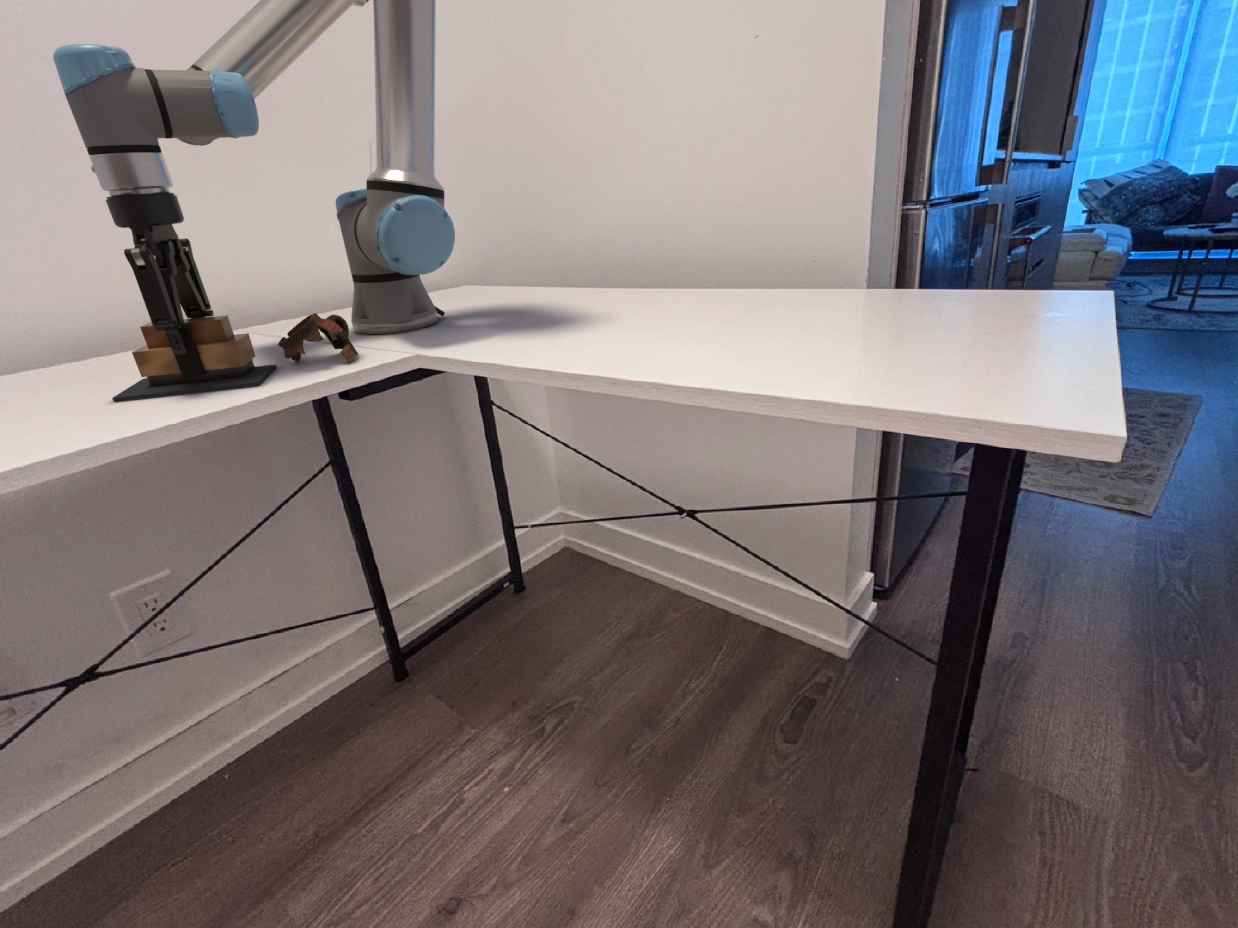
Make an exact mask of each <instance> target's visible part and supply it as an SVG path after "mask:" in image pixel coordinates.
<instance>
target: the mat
mask: <svg viewBox="0 0 1238 928" xmlns="http://www.w3.org/2000/svg"><path fill="white" fill-rule="evenodd" d="M277 369H278V366H277V364H267V365H257V366H254V368H253V369H252V370H251V371H250V372H249V373H247V374H246V375H245V376H244V377H237V378H227V379H218V380H208V381H199V382H190V383H180V384H171V385H161V386H152V387H151V386H150V383H149V381H148V378H147V377H142V379H140V380H139V381H137V382H135V383H133V384H132V385H131V386H129V387H128V388H126V389H124V390H123V391H121V392H119V393H118V394H116V395H114V396H113V397H112V398H111V399H112V401H113V402H114V403H118V402H126V401H136V400H147V399H153V398H154V399H155V398H163V397H172V396H181V395H191V394H198V393H200V394H201V393H207V392H217V391H225V390H226V391H227V390H236V389H244V388H245V389H246V388H254V387H260V386H261V385H262V384H263V383H264V382H265V381H266V380H267V379H268V378H269V377H270V376H271V375H272V374H273V373H274V372H275V371H276V370H277Z"/></svg>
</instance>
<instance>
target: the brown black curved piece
mask: <svg viewBox="0 0 1238 928" xmlns="http://www.w3.org/2000/svg"><path fill="white" fill-rule="evenodd" d="M321 333H322V334H323V335H324V336H325V337H326V339H327V340H328V341H329V342H330V344H331V345H332V347H333V349H334V350H340V352H339V353H340V354H341V355H342V356H343V357H344V358H345V361H346V362H347V364H352V363H353V362H354V361H355V360H356V358H357V357H358V355H359V353H358V351H357V350H356V348H355V346H354V345H353V343H352V342H351V340H350V338H349V336H350V328H349V324H348V322H347V321H346V320H345V319H344V317H342V316H340V315H339V314H330V315H328V316H327V317H325V318H322V317H320V315H318V313H317V312H314V313H311V314H309V315H307V316H306V317H305V318H303V319H302V320H301V321H300V322H298V323H297V324H296V325H295V326H293V327H292V328H291V329H290V330H288V332H287V334H286V335H287V336H288V337H285V336H283V337H282V338H280V340H279V341H278V343H277V346H278V347H280V348H281V349H283V356H284V358H285V359H287V360H289V359H291V361H294V362H295V363H297V364H298V363H300V361H301V359H302V355H305V354H306V352H305V347H304V341H305V342H309V343H312V342H322V341H324V340H325V338H324V337H323V335H322V334H321Z"/></svg>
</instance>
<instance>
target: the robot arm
mask: <svg viewBox="0 0 1238 928" xmlns="http://www.w3.org/2000/svg"><path fill="white" fill-rule="evenodd" d="M369 1H370V0H259V1H258V2H257V3H256V4H255V5H253V7H252V8H250V10H248V12H246V13H245V14H244V15H243V16H242V17H241V18H240V19H239V20H237V22H236V23H235V24H234V25H232V26H231V28H229V29H228V30H227V31H226V32H225V33H224V34H223V35H222V36H221V37H219V39H218V40H217V41H216V42H215V43H214V44H212V45H211V46H210V48H208V49H207V50H206V51H205V52H204V53H203V54H202V55H200V56H199V58H198V59H197V60H195V61H194V63H192V64H191V66H189V67H188V68H187V69H186V70H185V69H150V68H144V67H136V65H135V63H134V62H133V61H132V59H131V56H130V54H129V53H128V51H126V50H125V49H123V48H121V47H118V46H113V45H101V44H94V43H71V44H64V45H61V46H58V47H57V48H56V49H55V50H54V53H53V54H52V58H53V59H52V60H53V62H54V65H55V69H56V71H57V74H58V75H57V76H58V77H59V81H60V84H61V86H62V89H63V92H64V93H63V94H64V96H65V98H66V101H67V104H68V106H69V108H70V111H71V114H72V116H73V119H74V122H75V123H76V126H77V130H78V131H79V134H80V136H81V139H82V141H83V144H84V146H85V149H86V151H87V154H88V156H89V160H90V161H91V164H92V165H91V166H90V170H91V172H93V174H95V175H96V177H97V180H98V182H99V185H100V188H101V190H103V191H104V192H108V193H109V196H106V199H105V202H106V205H107V208H108V210H109V213H110V215H111V218H112V221H113V223H114V225H115V226H116V227H117V228H120V229H127V228H128V229H130V231H131V236H132V242H133V245H134V247H133V248H132V247H131V248H124V250H123V255H124V256H125V258H126V260H127V262H128V264H129V265H130V267H131V269H132V273H133V274H134V278H135V280H136V283H137V285H138V288H139V291H140V294H141V296H142V300H143V303H144V305H145V308H146V311H147V314H148V316H149V319H150V322H152V325H153V327H154V328H155V330H156V331H166V334H167V337H168V339H169V342H170V345H171V347H172V350H173V353H174V355H175V358H176V361H177V363H178V366H179V369H180V371H181V374H182V377H192V376H201V375H205V374H206V372H205V369H204V366H203V364H202V361H201V358H200V355H199V352H198V349H197V347H196V344H195V341H194V338H193V335H192V332H191V330H190V327H187V328H185V323H184V319H185V318H184V315H183V313H184V314H185V316H186V319H193V318H204V317H214V310H213V309H212V306H211V303H210V300H209V297H208V294H207V292H206V289H205V288H206V287H205V286H204V283H203V280H202V277H201V275H200V271H199V269H198V266H197V263H196V260H195V257H194V255H193V249H192V244H191V241H190V240H189V238H179V236H178V234H177V232H176V230H175V228H174V226H173V225H177V224H181V223H183V222H184V221H185V217H184V214H183V210H182V208H181V205H180V202H179V199H178V196H177V195H176V194H175V193H174V192H171V191H170V188H173V186H174V182H173V179H172V176H171V174H170V171H169V168H168V165H167V162H166V159H165V157H164V154H163V152H162V148H161V146H160V144H159V139H169V140H170V139H176V140H178V141H180V142H182V143H184V144H187V145H190V146H200V147H203V146H207V145H210V144H212V143H213V142H214V141H215V140H218V139H222V138H223V139H224V138H226V139H227V138H228V139H229V138H230V139H239V138H247V137H254V136H256V135H258V132H259V128H260V121H259V119H260V118H259V114H258V108H257V105H256V101H255V100H256V99H257V98H258V97H259V96H260V95H261V94H262V93H264V91H265V90H267V88H269V87H270V85H272V84H273V83H274V82H275V81H276V80H277V79H279V77H280V76H281V75H282V74H283V73H284V72H285V71H286V70H288V68H289V67H290V66H292V64H293V63H294V62H296V61H297V59H299V58H300V57H301V56H302V55H303V54H304V53H305V52H306V51H307V50H308V49H309V48H310V47H311V46H312V45H313V44H314V43H315V42H316V41H317V40H318V39H319V38H320V37H322V36H323V34H325V32H327V30H329V28H330V27H332V25H333V24H335V23H336V22H337V21H338V20H339V19H340V18H341V17H342V16H343V15H344V14H345V13H346V12H347V11H348V10H349V9H350V8H351V7H352V6H355V7H358V8H361V7H364V6H365V5H366V4H368V2H369ZM372 1H373V2H372V3H373V4H372V5H373V52H374V55H373V56H374V57H373V58H374V98H375V99H374V100H375V101H374V102H375V105H374V106H375V107H374V108H375V149H376V150H375V151H376V152H375V153H376V155H375V156H376V168H375V170H374V171H373V172H372V173H371V174H370V175H368V176H367V178H366V179H365V180H366V188H362V189H356V190H350V191H346V192H343V193H340V194H339V195H338V196H337V197H336V198H335V208H336V209H335V210H336V215H335V216H336V220H338V222H339V227H340V232H341V236H342V239H343V245H344V249H345V254H346V257H347V261H348V266H349V270H350V274H351V278H352V282H353V283H352V284H353V295H352V296H353V297H352V306H351V318H350V321H351V325H352V329H353V331H354V332H356V333H358V334H365V335H383V334H385V335H386V334H395V333H402V332H409V331H414V330H418V329H419V330H420V329H422V328H427V327H428V326H431V325H434V324H436V323H437V322H438V321H439V317H438V315H439V316H441V317H444V316H445V314H446V311H444V310H442V309H440V308H439V307H438V306H436V305H435V304H434V303H433V301H432V298H431V296H430V295H429V293H428V291H427V289H426V288H425V286H424V283H423V282H422V279H421V276H423V275H428V274H432V273H433V272H435V271H437V270H439V269H440V268H442V267H443V266H444V265H445V264H446V263H447V261H448V260H449V258H450V257H451V255H452V252H453V250H454V247H455V241H456V232H455V231H456V229H455V226H454V222H453V219H452V217H451V215H449V213H448V212H447V210H446V209H445V188H444V187H443V185H442V184H441V183H440V181H439V180H438V179H437V178H436V175H435V172H436V171H435V168H436V167H435V166H436V165H435V163H436V162H435V161H436V160H435V159H436V156H435V155H436V153H435V151H436V148H435V147H436V145H435V144H436V132H435V131H436V22H437V20H436V15H437V14H436V11H437V9H436V8H437V6H436V5H437V0H372Z"/></svg>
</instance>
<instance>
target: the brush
mask: <svg viewBox="0 0 1238 928" xmlns="http://www.w3.org/2000/svg"><path fill="white" fill-rule="evenodd" d="M183 319H184V323H185V328H187V327H190V330H191V332H192V335H193V338H194V341H195V344H196V347H197V349H198V352H199V355H200V358H201V361H202V364H203V366H204V369H205V372H206V374H205V375H201V376H192V377H182V374H181V371H180V369H179V366H178V363H177V361H176V358H175V355H174V353H173V350H172V347H171V345H170V342H169V339H168V337H167V334H166V331H156V330H155V328H154V327H153V325H152V322H151V321H150V322H148V323H145V324H143V325H141V326H140V331H141V333H142V336H143V339H144V341H145V345H143V346H141V347H140V348H137V349H136V350H134V351H131V355H132V357H133V360H134V362H135V364H136V367H137V369H138V372H139V375H140V376H141V378H148V381H149V383H150V386H151V387H152V386H161V385H171V384H180V383H190V382H199V381H208V380H218V379H227V378H237V377H244V376H245V375H246V374H247V373H249V372H250V371H251V370H252V369H253V368H254V367H255V363H254V360H253V359H255V358H256V352H255V349H254V346H253V343H252V339H251V337H250V334H249V333H236V334H234V331H233V327H232V324H231V322H230V318H229V316H228V315H226V314H225V315H215V316H209V317H204V318H193V319H191V318H183Z"/></svg>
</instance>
